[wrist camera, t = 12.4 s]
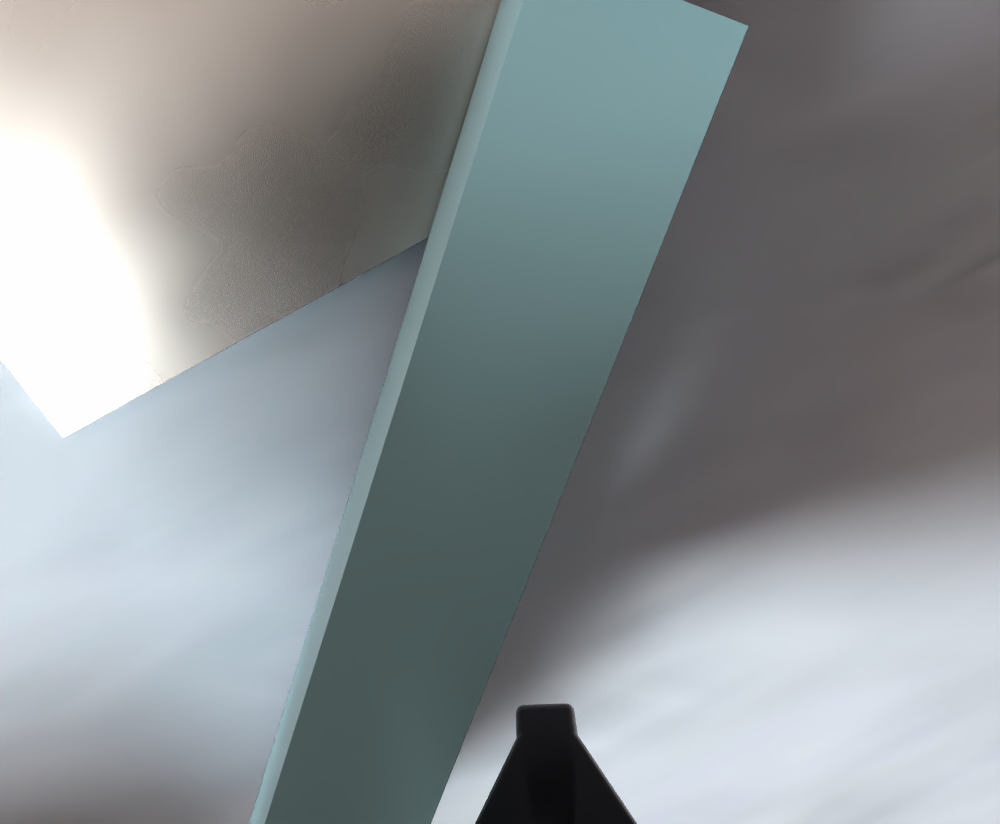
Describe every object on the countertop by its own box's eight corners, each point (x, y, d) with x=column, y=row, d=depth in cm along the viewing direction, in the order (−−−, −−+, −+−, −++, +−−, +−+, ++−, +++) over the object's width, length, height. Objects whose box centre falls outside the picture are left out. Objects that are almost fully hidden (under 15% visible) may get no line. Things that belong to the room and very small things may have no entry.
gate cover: (482, -12, 8) (519, -104, 4) (646, 49, 8) (859, 34, 4) (228, 837, 11) (93, 1304, 7) (349, 862, 12) (291, 1325, 7)
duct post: (596, -417, 7) (855, -1262, 3) (771, 46, 9) (1143, 22, 4) (-198, 89, 8) (-1000, 121, 4) (70, 430, 10) (-275, 761, 5)
